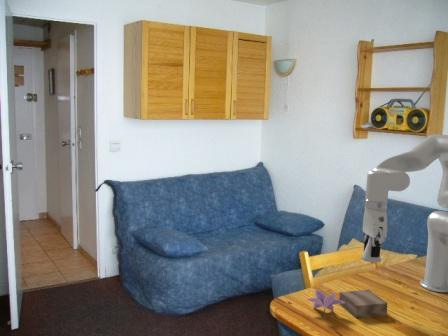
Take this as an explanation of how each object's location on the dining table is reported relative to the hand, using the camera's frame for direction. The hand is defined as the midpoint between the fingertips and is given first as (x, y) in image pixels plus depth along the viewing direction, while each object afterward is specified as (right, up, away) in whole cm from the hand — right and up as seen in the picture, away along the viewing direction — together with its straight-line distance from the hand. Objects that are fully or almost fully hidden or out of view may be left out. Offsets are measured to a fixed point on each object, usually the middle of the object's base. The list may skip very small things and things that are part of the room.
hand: (371, 253), depth 169 cm
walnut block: (-3, -21, 0) cm, 21 cm away
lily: (-18, -21, -5) cm, 28 cm away
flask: (0, -2, 0) cm, 2 cm away
